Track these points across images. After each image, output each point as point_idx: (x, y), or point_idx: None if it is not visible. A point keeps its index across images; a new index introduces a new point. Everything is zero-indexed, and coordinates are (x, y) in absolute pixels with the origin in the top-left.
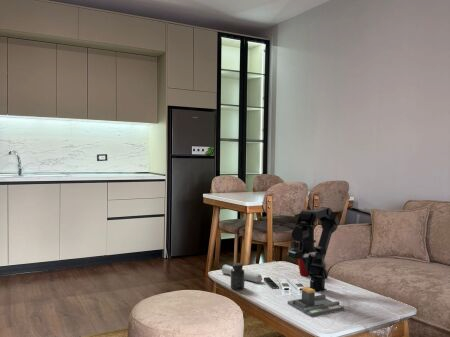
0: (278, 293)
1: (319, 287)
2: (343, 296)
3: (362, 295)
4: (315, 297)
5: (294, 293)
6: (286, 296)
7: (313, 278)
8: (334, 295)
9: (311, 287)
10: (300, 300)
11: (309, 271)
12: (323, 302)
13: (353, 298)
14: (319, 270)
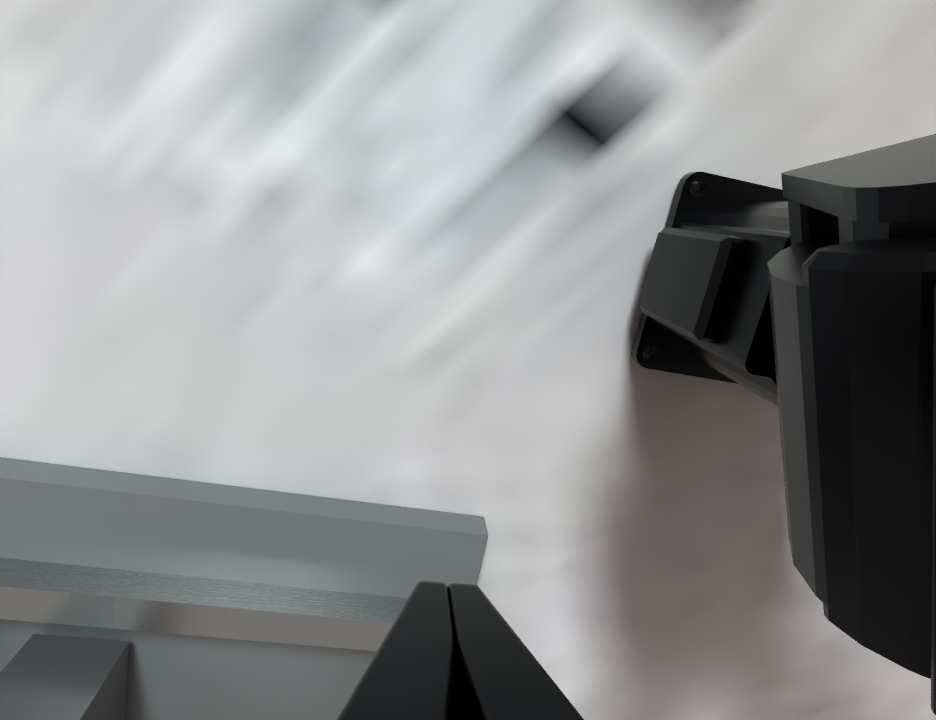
0: (96, 39)
1: (718, 371)
2: (745, 611)
3: (913, 681)
4: (300, 641)
5: (335, 205)
6: (129, 228)
7: (750, 328)
8: (701, 544)
9: (658, 271)
10: (33, 617)
11: (773, 316)
12: (330, 705)
13: (765, 693)
14: (839, 626)
